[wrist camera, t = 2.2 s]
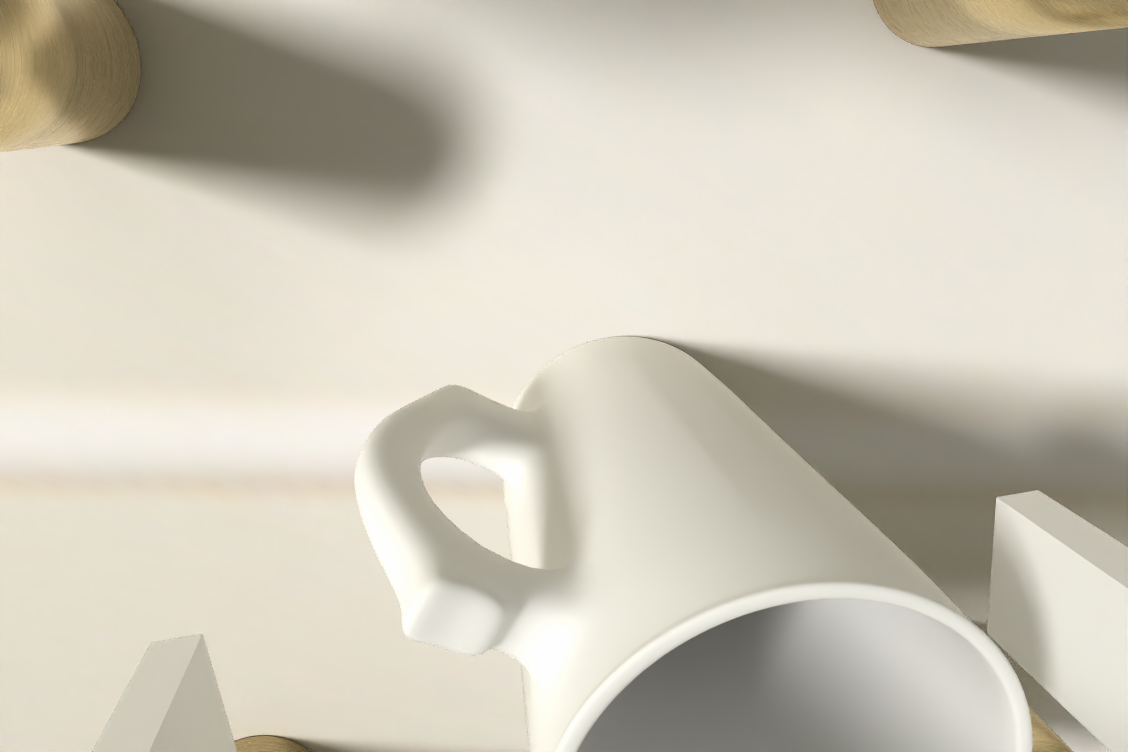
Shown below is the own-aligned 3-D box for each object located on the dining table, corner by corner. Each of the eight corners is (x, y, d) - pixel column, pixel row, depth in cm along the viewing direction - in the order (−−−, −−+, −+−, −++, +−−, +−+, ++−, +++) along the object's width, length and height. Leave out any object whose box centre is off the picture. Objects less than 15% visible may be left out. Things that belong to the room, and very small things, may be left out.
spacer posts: (1020, -131, 19) (1401, -282, 11) (962, 702, 27) (1164, 939, 19) (-71, -31, 17) (-495, -135, 9) (215, 844, 24) (112, 1174, 17)
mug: (786, 394, 22) (1132, 696, 11) (658, 589, 24) (849, 1035, 12) (452, 214, 20) (459, 373, 8) (330, 448, 21) (197, 851, 10)
